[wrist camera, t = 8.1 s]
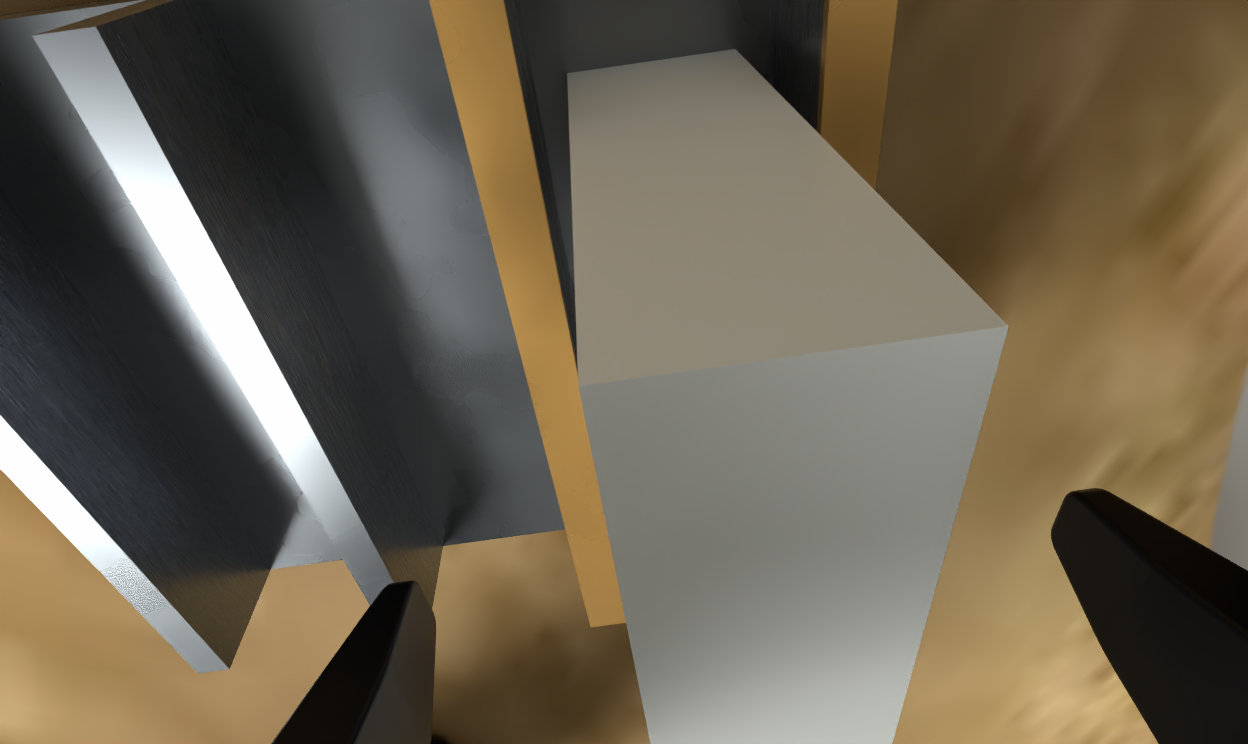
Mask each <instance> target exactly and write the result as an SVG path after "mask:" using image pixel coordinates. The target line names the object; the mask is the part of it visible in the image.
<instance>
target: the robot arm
mask: <svg viewBox="0 0 1248 744" xmlns="http://www.w3.org/2000/svg"><path fill="white" fill-rule="evenodd" d="M1051 539H1052V543H1053V546H1054V549H1055V551H1056V553H1057V555H1058V557H1059V559H1060V561H1061V564H1062V566H1063V568H1064V570H1065V572H1066V574H1067V576H1068V578H1069V581H1070V583H1071V585H1072V587H1073V589H1074V591H1075V593H1076V595H1077V598H1078V600H1079V602H1080V604H1081V606H1082V608H1083V610H1084V612H1085V615H1086V617H1087V619H1088V621H1089V623H1090V625H1091V627H1092V629H1093V631H1094V634H1095V636H1096V637H1097V639H1098V641H1099V643H1100V645H1101V647H1102V649H1103V651H1104V653H1105V655H1106V656H1107V658H1108V660H1109V662H1110V663H1111V665H1112V667H1113V669H1114V670H1115V672H1116V674H1117V675H1118V677H1119V679H1120V680H1121V682H1122V683H1123V685H1124V687H1125V688H1126V690H1127V692H1128V693H1129V695H1130V697H1131V698H1132V700H1133V702H1134V703H1135V705H1136V707H1137V708H1138V710H1139V712H1140V713H1141V715H1142V717H1143V718H1144V720H1145V722H1146V723H1147V725H1148V727H1149V728H1150V730H1151V732H1152V733H1153V735H1154V737H1155V738H1156V740H1157V742H1158V743H1159V744H1248V571H1247V570H1245V569H1244V568H1242V567H1240V566H1238V565H1237V564H1235V563H1233V562H1231V561H1230V560H1228V559H1226V558H1224V557H1223V556H1221V555H1219V554H1217V553H1216V552H1214V551H1212V550H1210V549H1209V548H1207V547H1205V546H1203V545H1202V544H1200V543H1198V542H1196V541H1195V540H1193V539H1191V538H1189V537H1188V536H1186V535H1184V534H1182V533H1181V532H1179V531H1177V530H1175V529H1174V528H1172V527H1170V526H1168V525H1167V524H1165V523H1163V522H1161V521H1160V520H1158V519H1156V518H1154V517H1153V516H1151V515H1149V514H1147V513H1146V512H1144V511H1142V510H1140V509H1139V508H1137V507H1135V506H1133V505H1132V504H1130V503H1128V502H1126V501H1125V500H1123V499H1121V498H1119V497H1117V496H1116V495H1114V494H1112V493H1110V492H1108V491H1106V490H1104V489H1099V488H1092V489H1085V490H1077V491H1072V492H1070V493H1068V494H1067V495H1066V496H1065V498H1064V500H1063V502H1062V505H1061V507H1060V510H1059V512H1058V514H1057V517H1056V519H1055V521H1054V524H1053V526H1052V529H1051ZM435 644H436V621H435V616H434V613H433V610H432V608H431V606H430V604H429V602H428V600H427V598H426V596H425V594H424V592H423V590H422V588H421V586H420V585H419V583H417V582H416V581H404V582H396V583H391V584H388V585H386V586H385V587H384V588H383V589H382V590H381V591H380V593H379V594H378V596H377V597H376V598H375V600H374V601H373V603H372V604H371V605H370V607H369V608H368V610H367V611H366V612H365V614H364V615H363V617H362V618H361V619H360V621H359V622H358V623H357V625H356V626H355V628H354V629H353V630H352V632H351V633H350V635H349V636H348V637H347V639H346V640H345V642H344V643H343V644H342V646H341V647H340V649H339V650H338V651H337V653H336V654H335V655H334V657H333V658H332V660H331V661H330V662H329V664H328V665H327V667H326V668H325V669H324V671H323V672H322V674H321V675H320V676H319V678H318V679H317V680H316V682H315V683H314V685H313V686H312V687H311V689H310V690H309V692H308V693H307V694H306V696H305V697H304V699H303V700H302V701H301V703H300V704H299V706H298V707H297V708H296V710H295V711H294V712H293V714H292V715H291V717H290V718H289V719H288V721H287V722H286V724H285V725H284V726H283V728H282V729H281V731H280V732H279V733H278V735H277V736H276V738H275V739H274V740H273V742H272V743H271V744H447V743H446V742H445V741H442V740H431V733H432V714H433V691H434V667H435Z"/></svg>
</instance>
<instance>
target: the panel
mask: <svg viewBox="0 0 1248 744" xmlns="http://www.w3.org/2000/svg"><path fill="white" fill-rule="evenodd" d="M567 84H568V112H569V140H570V168H571V196H572V224H573V252H574V280H575V307H576V335H577V363H578V387H579V392H580V397H581V402H582V407H583V412H584V417H585V422H586V427H587V432H588V437H589V442H590V447H591V452H592V456H593V461H594V466H595V471H596V476H597V481H598V486H599V491H600V496H601V501H602V506H603V511H604V516H605V521H606V526H607V531H608V536H609V541H610V546H611V551H612V555H613V560H614V565H615V570H616V575H617V580H618V585H619V590H620V595H621V600H622V605H623V610H624V615H625V620H626V625H627V630H628V635H629V640H630V645H631V650H632V654H633V659H634V664H635V669H636V674H637V679H638V684H639V689H640V694H641V699H642V704H643V709H644V714H645V719H646V724H647V729H648V734H649V739H650V744H892V742H893V739H894V735H895V731H896V728H897V724H898V721H899V717H900V714H901V710H902V706H903V703H904V699H905V696H906V692H907V689H908V685H909V681H910V678H911V674H912V671H913V667H914V664H915V660H916V656H917V653H918V649H919V646H920V642H921V639H922V635H923V631H924V628H925V624H926V621H927V617H928V613H929V610H930V606H931V603H932V599H933V596H934V592H935V588H936V585H937V581H938V578H939V574H940V571H941V567H942V563H943V560H944V556H945V553H946V549H947V546H948V542H949V538H950V535H951V531H952V528H953V524H954V520H955V517H956V513H957V510H958V506H959V503H960V499H961V495H962V492H963V488H964V485H965V481H966V478H967V474H968V470H969V467H970V463H971V460H972V456H973V453H974V449H975V445H976V442H977V438H978V435H979V431H980V428H981V424H982V420H983V417H984V413H985V410H986V406H987V402H988V399H989V395H990V392H991V388H992V385H993V381H994V377H995V374H996V370H997V367H998V363H999V360H1000V356H1001V352H1002V349H1003V345H1004V342H1005V338H1006V335H1007V331H1008V327H1009V326H1008V325H1007V324H1006V323H1005V322H1004V321H1003V320H1002V319H1001V318H1000V317H999V316H998V315H997V314H996V313H995V312H994V311H993V310H992V309H991V308H990V307H989V306H988V305H987V304H986V303H985V302H984V301H983V300H982V299H981V297H980V296H979V295H978V294H977V293H976V292H975V291H974V290H973V289H972V288H971V287H970V286H969V285H968V284H967V283H966V282H965V281H964V280H963V279H962V278H961V277H960V276H959V275H958V274H957V273H956V272H955V271H954V270H953V269H952V268H951V267H950V266H949V265H948V264H947V263H946V262H945V261H944V260H943V259H942V258H941V257H940V256H939V255H938V254H937V253H936V252H935V251H934V250H933V249H932V248H931V247H930V246H929V245H928V244H927V243H926V242H925V241H924V240H923V239H922V238H921V237H920V236H919V235H918V234H917V233H916V232H915V231H914V230H913V229H912V228H911V227H910V226H909V225H908V224H907V223H906V221H905V220H904V219H903V218H902V217H901V216H900V215H899V214H898V213H897V212H896V211H895V210H894V209H893V208H892V207H891V206H890V205H889V204H888V203H887V202H886V201H885V200H884V199H883V198H882V197H881V196H880V195H879V194H878V193H877V192H876V191H875V190H874V189H873V188H872V187H871V186H870V185H869V184H868V183H867V182H866V181H865V180H864V179H863V178H862V177H861V176H860V175H859V174H858V173H857V172H856V171H855V170H854V169H853V168H852V167H851V166H850V165H849V164H848V163H847V162H846V161H845V160H844V159H843V158H842V157H841V156H840V155H839V154H838V153H837V152H836V151H835V150H834V149H833V148H832V147H831V146H830V144H829V143H828V142H827V141H826V140H825V139H824V138H823V137H822V136H821V135H820V134H819V133H818V132H817V131H816V130H815V129H814V128H813V127H812V126H811V125H810V124H809V123H808V122H807V121H806V120H805V119H804V118H803V117H802V116H801V115H800V114H799V113H798V112H797V111H796V110H795V109H794V108H793V107H792V106H791V105H790V104H789V103H788V102H787V101H786V100H785V99H784V98H783V97H782V96H781V95H780V94H779V93H778V92H777V91H776V90H775V89H774V88H773V87H772V86H771V85H770V84H769V83H768V82H767V81H766V80H765V79H764V78H763V77H762V76H761V75H760V74H759V73H758V72H757V71H756V70H755V68H754V67H753V66H752V65H751V64H750V63H749V62H748V61H747V60H746V59H745V58H744V57H743V56H742V55H741V54H740V53H739V52H738V51H737V50H736V49H732V50H725V51H718V52H711V53H704V54H697V55H690V56H683V57H676V58H669V59H663V60H656V61H649V62H642V63H635V64H628V65H621V66H614V67H607V68H600V69H593V70H586V71H579V72H572V73H567Z"/></svg>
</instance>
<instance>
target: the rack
mask: <svg viewBox="0 0 1248 744" xmlns="http://www.w3.org/2000/svg"><path fill="white" fill-rule="evenodd" d="M897 5H898V0H105V1H98V2H91V3H84V4H77V5H71V6H64V7H57V8H50V9H43V10H36V11H29V12H22V13H15V14H8V15H1V16H0V469H1V470H2V471H3V472H4V473H5V474H6V475H7V476H8V477H9V478H10V479H11V480H12V481H13V482H14V483H15V484H16V485H17V486H18V487H19V488H20V489H21V490H22V492H23V493H24V494H25V495H26V496H27V497H28V498H29V499H30V500H31V501H32V502H33V503H34V504H35V505H36V506H37V507H38V508H39V509H40V510H41V511H42V512H43V513H44V514H45V515H46V516H47V517H48V518H49V520H50V521H51V522H52V523H53V524H54V525H55V526H56V527H57V528H58V529H59V530H60V531H61V532H62V533H63V534H64V535H65V536H66V537H67V538H68V539H69V540H70V541H71V542H72V543H73V544H74V545H75V546H76V547H77V549H78V550H79V551H80V552H81V553H82V554H83V555H84V556H85V557H86V558H87V559H88V560H89V561H90V562H91V563H92V564H93V565H94V566H95V567H96V568H97V569H98V570H99V571H100V572H101V573H102V574H103V575H104V577H105V578H106V579H107V580H108V581H109V582H110V583H111V584H112V585H113V586H114V587H115V588H116V589H117V590H118V591H119V592H120V593H121V594H122V595H123V596H124V597H125V598H126V599H127V600H128V601H129V602H130V603H131V605H132V606H133V607H134V608H135V609H136V610H137V611H138V612H139V613H140V614H141V615H142V616H143V617H144V618H145V619H146V620H147V621H148V622H149V623H150V624H151V625H152V626H153V627H154V628H155V629H156V630H157V631H158V632H159V634H160V635H161V636H162V637H163V638H164V639H165V640H166V641H167V642H168V643H169V644H170V645H171V646H172V647H173V648H174V649H175V650H176V651H177V652H178V653H179V654H180V655H181V656H182V657H183V658H184V659H185V660H186V662H187V663H188V664H189V665H190V666H191V667H192V668H193V669H194V670H195V671H196V672H197V673H204V672H212V671H219V670H227V669H230V666H231V664H232V662H233V659H234V657H235V654H236V652H237V650H238V647H239V645H240V642H241V640H242V637H243V635H244V633H245V630H246V628H247V625H248V623H249V621H250V618H251V616H252V613H253V611H254V608H255V606H256V604H257V601H258V599H259V596H260V594H261V592H262V589H263V587H264V584H265V582H266V580H267V577H268V575H269V572H270V570H271V569H277V568H285V567H292V566H299V565H307V564H314V563H321V562H329V561H336V560H344V562H345V564H346V566H347V567H348V569H349V571H350V572H351V574H352V576H353V577H354V579H355V581H356V582H357V584H358V586H359V587H360V589H361V591H362V592H363V594H364V596H365V598H366V599H367V601H368V603H369V604H370V605H371V604H372V603H373V601H374V600H375V598H376V597H377V596H378V594H379V593H380V591H381V590H382V589H383V588H384V587H385V586H386V585H388V584H391V583H396V582H404V581H416V582H417V583H419V585H420V586H421V588H422V590H423V592H424V594H425V596H426V598H427V600H428V602H429V604H430V606H431V608H432V606H433V601H434V595H435V589H436V583H437V578H438V572H439V566H440V560H441V554H442V549H443V546H446V545H453V544H460V543H468V542H475V541H482V540H490V539H497V538H504V537H512V536H519V535H526V534H534V533H541V532H548V531H556V530H563V529H565V530H566V534H567V538H568V542H569V545H570V549H571V553H572V557H573V561H574V565H575V569H576V573H577V576H578V580H579V584H580V588H581V592H582V596H583V600H584V604H585V608H586V611H587V615H588V619H589V623H590V627H598V626H605V625H612V624H620V623H626V620H625V615H624V610H623V605H622V600H621V595H620V590H619V585H618V580H617V575H616V570H615V565H614V560H613V555H612V551H611V546H610V541H609V536H608V531H607V526H606V521H605V516H604V511H603V506H602V501H601V496H600V491H599V486H598V481H597V476H596V471H595V466H594V461H593V456H592V452H591V447H590V442H589V437H588V432H587V427H586V422H585V417H584V412H583V407H582V402H581V397H580V392H579V387H578V363H577V335H576V307H575V280H574V252H573V224H572V196H571V168H570V140H569V112H568V84H567V73H572V72H579V71H586V70H593V69H600V68H607V67H614V66H621V65H628V64H635V63H642V62H649V61H656V60H663V59H669V58H676V57H683V56H690V55H697V54H704V53H711V52H718V51H725V50H732V49H736V50H737V51H738V52H739V53H740V54H741V55H742V56H743V57H744V58H745V59H746V60H747V61H748V62H749V63H750V64H751V65H752V66H753V67H754V68H755V70H756V71H757V72H758V73H759V74H760V75H761V76H762V77H763V78H764V79H765V80H766V81H767V82H768V83H769V84H770V85H771V86H772V87H773V88H774V89H775V90H776V91H777V92H778V93H779V94H780V95H781V96H782V97H783V98H784V99H785V100H786V101H787V102H788V103H789V104H790V105H791V106H792V107H793V108H794V109H795V110H796V111H797V112H798V113H799V114H800V115H801V116H802V117H803V118H804V119H805V120H806V121H807V122H808V123H809V124H810V125H811V126H812V127H813V128H814V129H815V130H816V131H817V132H818V133H819V134H820V135H821V136H822V137H823V138H824V139H825V140H826V141H827V142H828V143H829V144H830V146H831V147H832V148H833V149H834V150H835V151H836V152H837V153H838V154H839V155H840V156H841V157H842V158H843V159H844V160H845V161H846V162H847V163H848V164H849V165H850V166H851V167H852V168H853V169H854V170H855V171H856V172H857V173H858V174H859V175H860V176H861V177H862V178H863V179H864V180H865V181H866V182H867V183H868V184H869V185H870V186H871V187H872V188H873V189H874V190H876V182H877V173H878V165H879V156H880V148H881V139H882V131H883V123H884V114H885V106H886V97H887V89H888V81H889V72H890V64H891V55H892V47H893V39H894V30H895V22H896V13H897Z"/></svg>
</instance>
